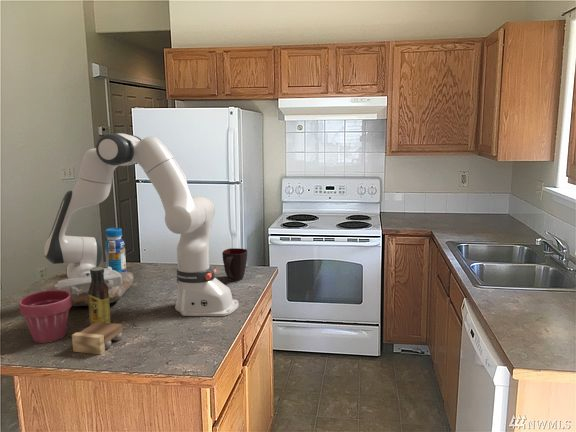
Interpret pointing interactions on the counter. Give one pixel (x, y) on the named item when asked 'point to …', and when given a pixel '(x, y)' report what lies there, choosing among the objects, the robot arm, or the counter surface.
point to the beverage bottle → (115, 250)
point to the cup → (235, 263)
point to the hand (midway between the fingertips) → (95, 289)
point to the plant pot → (46, 314)
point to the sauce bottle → (98, 297)
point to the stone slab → (113, 293)
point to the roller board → (96, 337)
